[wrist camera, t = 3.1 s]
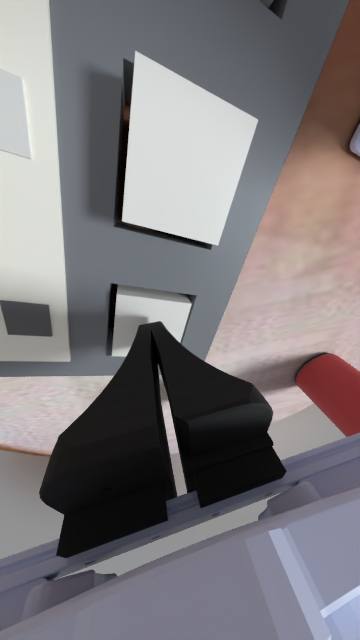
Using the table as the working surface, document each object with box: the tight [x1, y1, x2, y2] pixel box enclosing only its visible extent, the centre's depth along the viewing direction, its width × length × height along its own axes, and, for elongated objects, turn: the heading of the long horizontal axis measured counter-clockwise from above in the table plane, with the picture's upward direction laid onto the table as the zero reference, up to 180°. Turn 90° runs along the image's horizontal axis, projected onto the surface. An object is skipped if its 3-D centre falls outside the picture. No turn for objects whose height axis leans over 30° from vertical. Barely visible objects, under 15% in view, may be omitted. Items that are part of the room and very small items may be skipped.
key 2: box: [112, 284, 192, 357], centre depth 13 cm, size 4×4×3 cm
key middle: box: [122, 51, 258, 246], centre depth 8 cm, size 4×4×3 cm
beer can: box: [296, 354, 360, 437], centre depth 21 cm, size 7×7×12 cm
